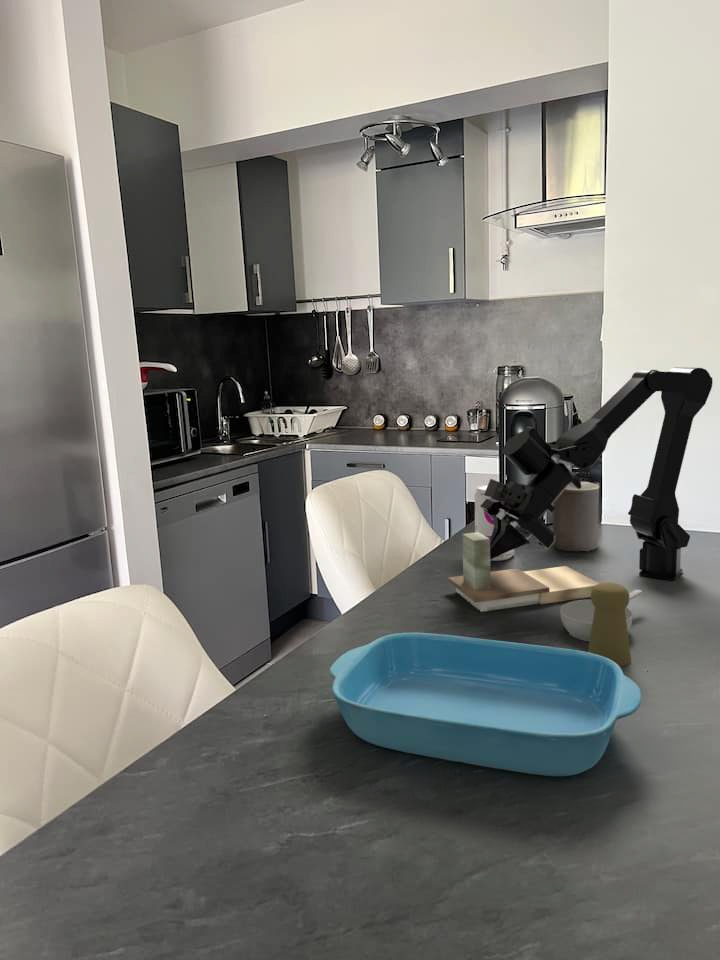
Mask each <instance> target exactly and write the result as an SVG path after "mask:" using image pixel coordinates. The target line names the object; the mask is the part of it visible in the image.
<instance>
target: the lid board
mask: <svg viewBox="0 0 720 960" xmlns="http://www.w3.org/2000/svg"><path fill="white" fill-rule="evenodd" d="M462 570H463V571H462V575H457V576H451V577H449V576H448V583H450V584H451V585H452V586H453V587H455V589H456V588H457V589H458V590H460V591H461V592H462V593H464V594H465V595H466V596H467V597H469V598H470V599H471V600H472V601H474V602H475V603H476V602H483V601H490V600H497V599H504V598H511V597H518V596H525V595H532V594H539V593H546V592H549V587H547V586H546V585H544V584H542V583H541V582H539V581H537V580H536V579H534V578H532V577H531V576H529V575H527V574H526V573H524V571H522V570H520V569H519V568H510V569H503V570H496V571H495V570H494V571H491V561H490V539H489V538H488V537H486V536H484V535H482V534H481V533H479V532H475V531H474V532H469V533H468V532H466V533H462Z"/></svg>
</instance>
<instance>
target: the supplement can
mask: <svg viewBox="0 0 720 960" xmlns="http://www.w3.org/2000/svg"><path fill="white" fill-rule="evenodd" d="M488 484H489V483H488ZM488 484H482V485H478V486H477V489H476V491H475V492H474V530H475V531H474V533H475V532H479V533H481V534H482V535H484V536H486V537H488V538H489V539H490V538H491V535H492V533H493V530H494V523H493V519H492V518H491V516H489V515H488V514H487V513H486V512H485V511H484V510H483V509H482V508H481V507H480V506H481V505H482V503H483V502H484V501H485V500H486V499H489V498H491V497H488V496H485V495H484V493H485V491H486V489H487V486H488ZM502 502H503V501H501V503H502ZM514 555H515V549H513V550H510V551H508V552H506V553H504V554H502V555H499V556H497V557H495V558H493V559H491V560H490V562H492V561H494V562H497V561H500V562H501V561H507V560H509V559H511V558H512V556H514Z"/></svg>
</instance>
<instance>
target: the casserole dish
mask: <svg viewBox="0 0 720 960" xmlns="http://www.w3.org/2000/svg"><path fill="white" fill-rule="evenodd" d="M329 674H330V676H331V677H332V678H333V679H334V681H333V682H332V685H331V686H332V687H331V690H332V694H333V697H334V699H335V702H336V703H337V705H338V708H339V710H340V712H341V715H342V717H343V719H344V721H345V723H346V725H347V726H348V728H349V729H350V730H351V731H352V733H353V734H355V735H356V736H357V737H358V738H360V739H362V740H363V741H366V742H367V743H369V744H371V745H372V744H373V745H375V746H378V747H381V748H386V749H389V750H394V751H399V752H403V753H409V754H413V755H419V756H425V757H429V758H435V759H440V760H445V761H451V762H456V763H457V762H460V763H464V764H469V765H473V766H480V767H484V768H485V767H486V768H491V769H497V770H498V769H499V770H504V771H505V770H506V771H510V772H511V771H512V772H517V773H524V774H528V775H529V774H530V775H537V776H544V777H546V776H547V777H569V776H575V775H579V774H580V773H583V772H585V771H588V770H589V769H592V767H594V766H596V765H597V763H598V762H599V761H600V760H601V759H602V757H603V756H604V753H605V751H606V750H607V747H608V745H609V742H610V740H611V737H612V734H613V731H614V729H615V724H616V722H617V721H618V720H621V719H623V718H625V717H628V716H630V715H632V714H635V712H636V711H637V710H638V709H639V707H640V706H641V703H642V692H641V689H640V687H639V685H638V684H637V683H636V682H634V681H633V680H632V679H631V678H629V677H628V676H626V675H625V674H624V672H623V670H622V668H621V666H620V667H619V666H618V665H617V664H616V663H615V662H613V661H612V660H610V659H608V658H605V657H603V656H600V655H596V654H592V653H588V651H587V652H586V651H582V650H577V649H570V648H563V647H562V648H561V647H555V646H547V645H537V644H527V643H520V642H511V641H503V640H494V639H486V638H485V639H484V638H475V637H467V636H460V635H451V634H439V633H428V632H427V633H426V632H401V633H400V632H398V633H391V634H387V635H384V636H381V637H379V638H377V639H375V640H373V641H372V642H370V643H368V644H365V645H362V646H359V647H355V648H352V649H350V650H348V651H346V652H344V653H343V654H342V655H341V656H339V658H337V659H336V660H335V662H333V664H332V665H331V667H330V668H329Z"/></svg>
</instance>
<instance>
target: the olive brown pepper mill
mask: <svg viewBox="0 0 720 960" xmlns="http://www.w3.org/2000/svg"><path fill="white" fill-rule="evenodd" d="M629 593H630V592H629V590H628V589H627V587H626V586H625V585H622V584H620V583H616V582H599V584H597V585H595V586H594V587H593V589H592V592H591V597H590V600H591V601H592V603H593V605H594V606H595V610H594V616H593V622H592V629H591V635H590V641H589V643H588V648H587V652H588V653H592V654H596V655H600V656H603V657H605V658H608V659H610V660H612V661H613V662H615V663H616V664H617V665H618V666H619V667H620V668H621V667H623V666H624V667H625V666H627V665H629V664H631V662H632V657H631V656H632V655H631V647H630V640H629V631H628V630H627V622H626V613H625V608H626V607H627V608H628V606H629V603H630V600H629Z"/></svg>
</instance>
